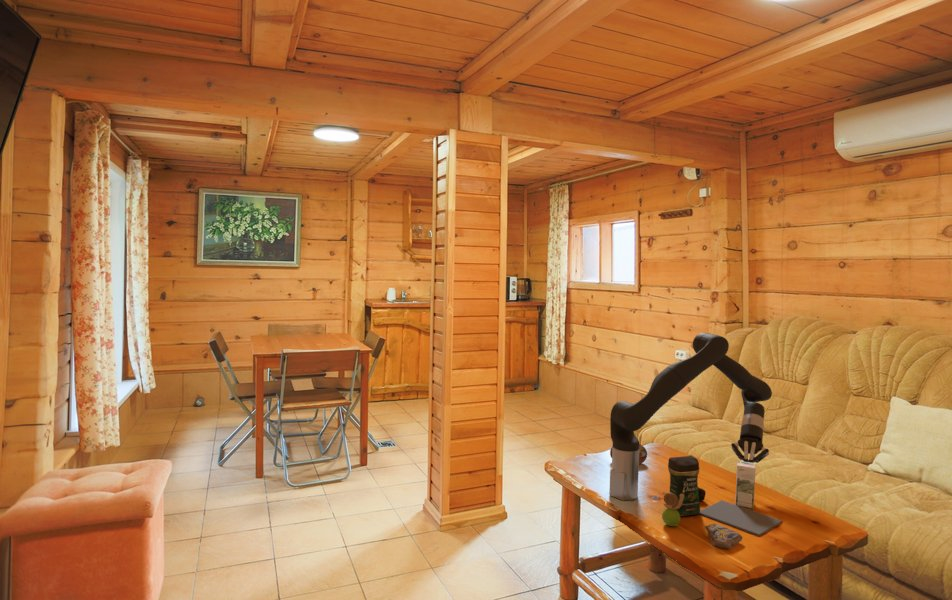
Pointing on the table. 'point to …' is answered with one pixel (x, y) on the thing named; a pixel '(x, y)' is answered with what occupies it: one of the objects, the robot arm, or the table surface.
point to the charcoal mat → (740, 517)
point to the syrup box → (745, 484)
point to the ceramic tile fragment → (723, 536)
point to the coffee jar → (685, 483)
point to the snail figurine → (672, 509)
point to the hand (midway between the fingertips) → (747, 470)
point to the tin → (641, 454)
